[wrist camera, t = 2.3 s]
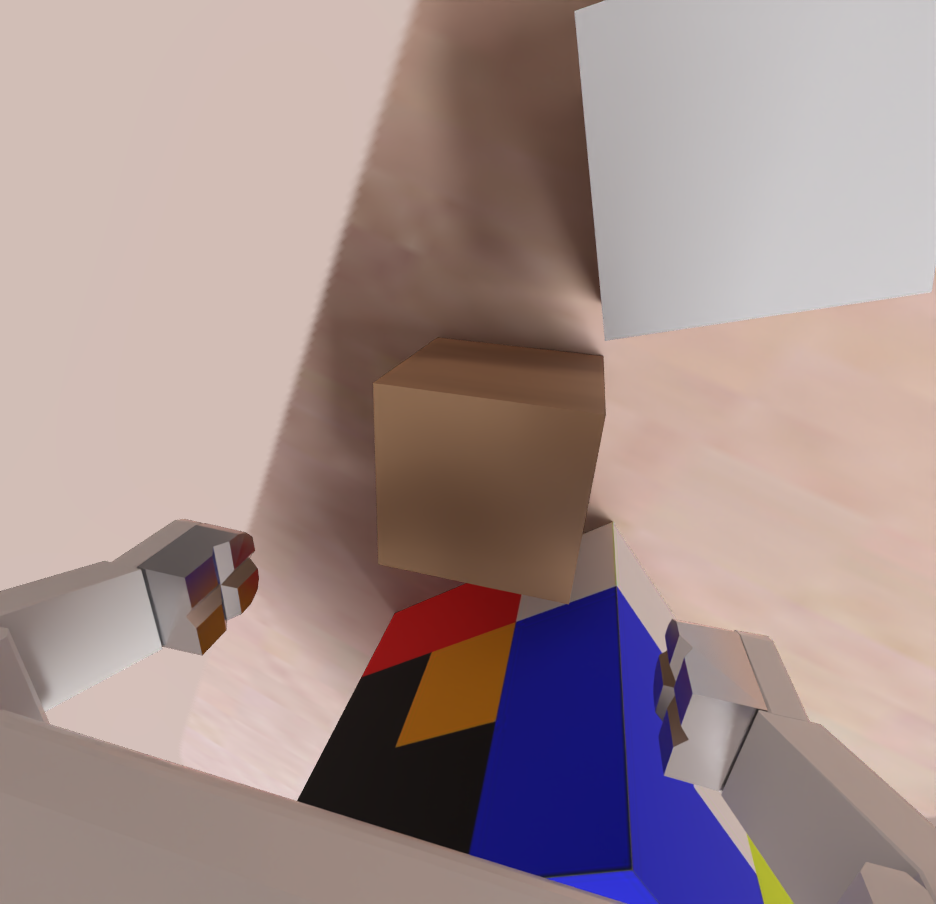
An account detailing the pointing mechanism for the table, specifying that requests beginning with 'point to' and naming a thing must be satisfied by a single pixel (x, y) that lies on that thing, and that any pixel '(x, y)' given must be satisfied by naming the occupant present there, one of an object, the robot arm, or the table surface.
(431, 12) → the table surface
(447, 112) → the table surface
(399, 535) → the walnut block
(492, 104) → the table surface
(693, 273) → the grey block
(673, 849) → the puzzle toy
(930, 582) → the table surface
